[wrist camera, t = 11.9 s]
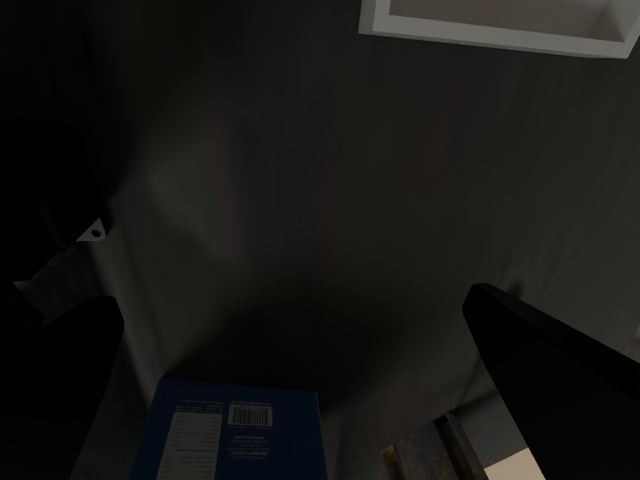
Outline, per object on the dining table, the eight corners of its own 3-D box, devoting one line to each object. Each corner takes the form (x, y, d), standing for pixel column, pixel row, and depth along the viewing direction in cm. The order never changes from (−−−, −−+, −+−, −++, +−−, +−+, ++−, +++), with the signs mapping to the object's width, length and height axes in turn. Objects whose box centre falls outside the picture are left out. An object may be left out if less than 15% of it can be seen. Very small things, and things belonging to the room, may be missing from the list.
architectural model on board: (443, 407, 38) (490, 506, 30) (455, 414, 39) (504, 509, 31) (377, 448, 41) (403, 545, 33) (390, 452, 43) (418, 547, 35)
